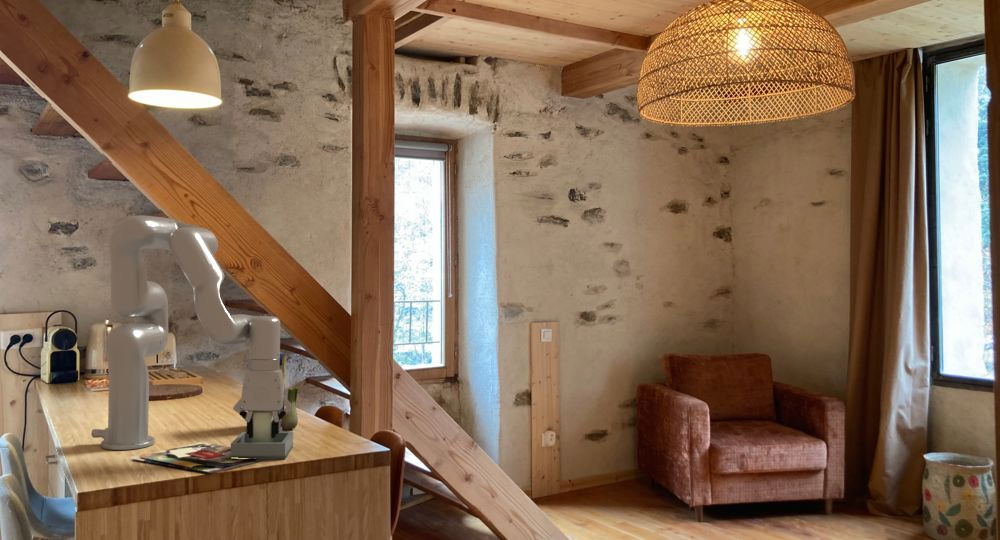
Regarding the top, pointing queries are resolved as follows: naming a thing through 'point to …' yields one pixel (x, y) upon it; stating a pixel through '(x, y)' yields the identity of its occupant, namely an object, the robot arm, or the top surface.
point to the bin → (262, 447)
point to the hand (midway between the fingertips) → (262, 436)
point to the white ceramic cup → (262, 427)
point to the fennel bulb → (291, 417)
